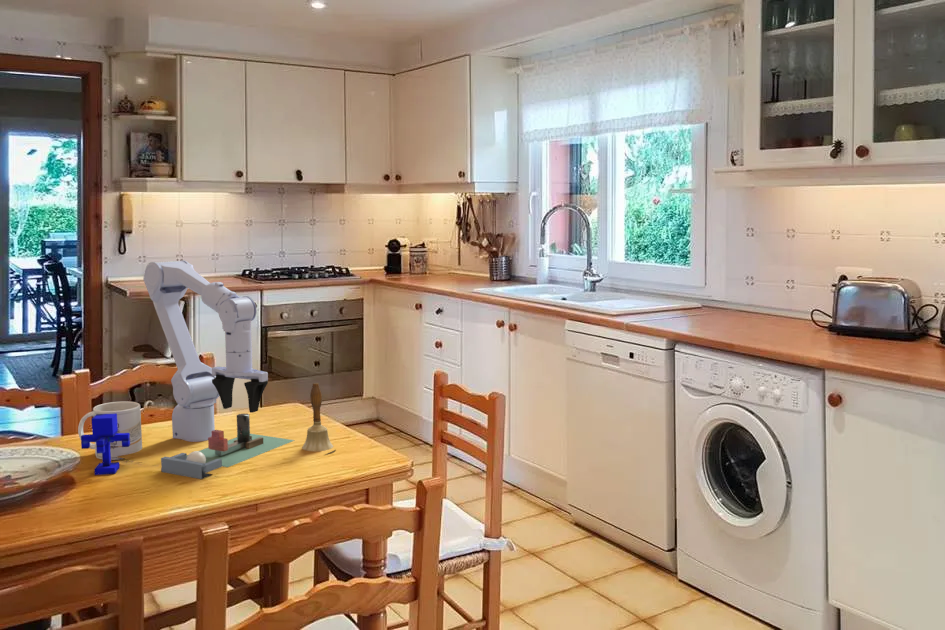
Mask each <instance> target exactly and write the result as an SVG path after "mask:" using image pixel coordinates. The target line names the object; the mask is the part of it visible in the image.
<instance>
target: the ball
mask: <svg viewBox="0 0 945 630" xmlns="http://www.w3.org/2000/svg"><path fill="white" fill-rule="evenodd" d="M199 451H200V450H194V451H192V452H190V453H188V454H187V455H188V456H187V459H186V460H188V461H194V462H199V463H206V458H205V455H204V454H203V453H202V452H199Z"/></svg>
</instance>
